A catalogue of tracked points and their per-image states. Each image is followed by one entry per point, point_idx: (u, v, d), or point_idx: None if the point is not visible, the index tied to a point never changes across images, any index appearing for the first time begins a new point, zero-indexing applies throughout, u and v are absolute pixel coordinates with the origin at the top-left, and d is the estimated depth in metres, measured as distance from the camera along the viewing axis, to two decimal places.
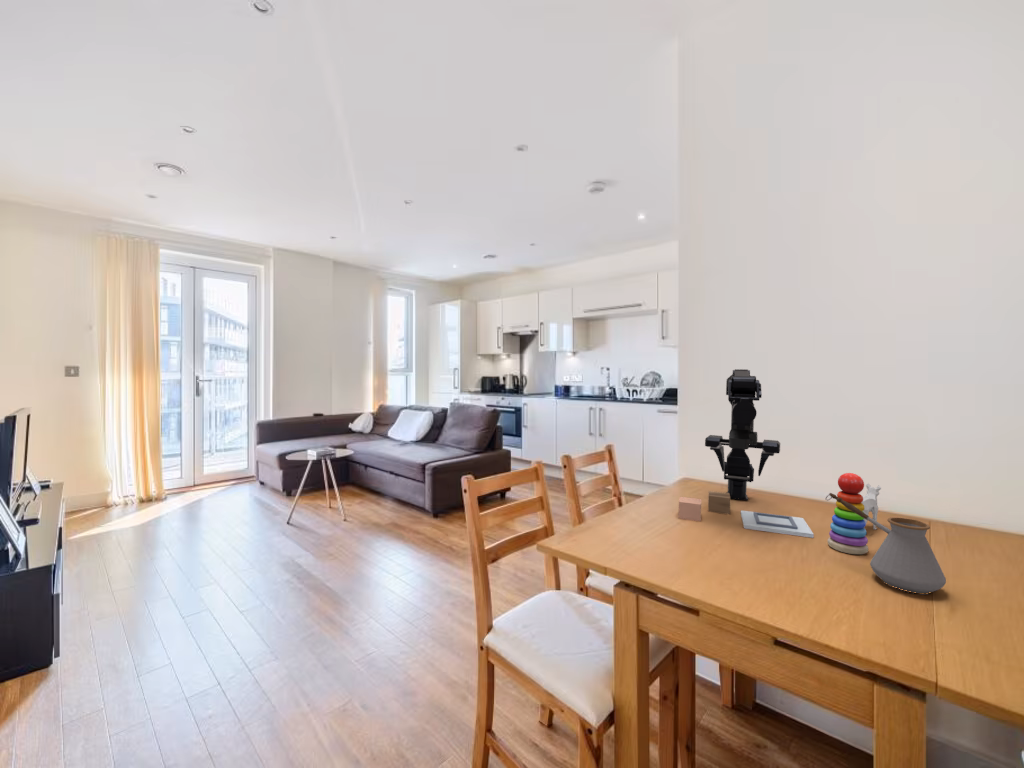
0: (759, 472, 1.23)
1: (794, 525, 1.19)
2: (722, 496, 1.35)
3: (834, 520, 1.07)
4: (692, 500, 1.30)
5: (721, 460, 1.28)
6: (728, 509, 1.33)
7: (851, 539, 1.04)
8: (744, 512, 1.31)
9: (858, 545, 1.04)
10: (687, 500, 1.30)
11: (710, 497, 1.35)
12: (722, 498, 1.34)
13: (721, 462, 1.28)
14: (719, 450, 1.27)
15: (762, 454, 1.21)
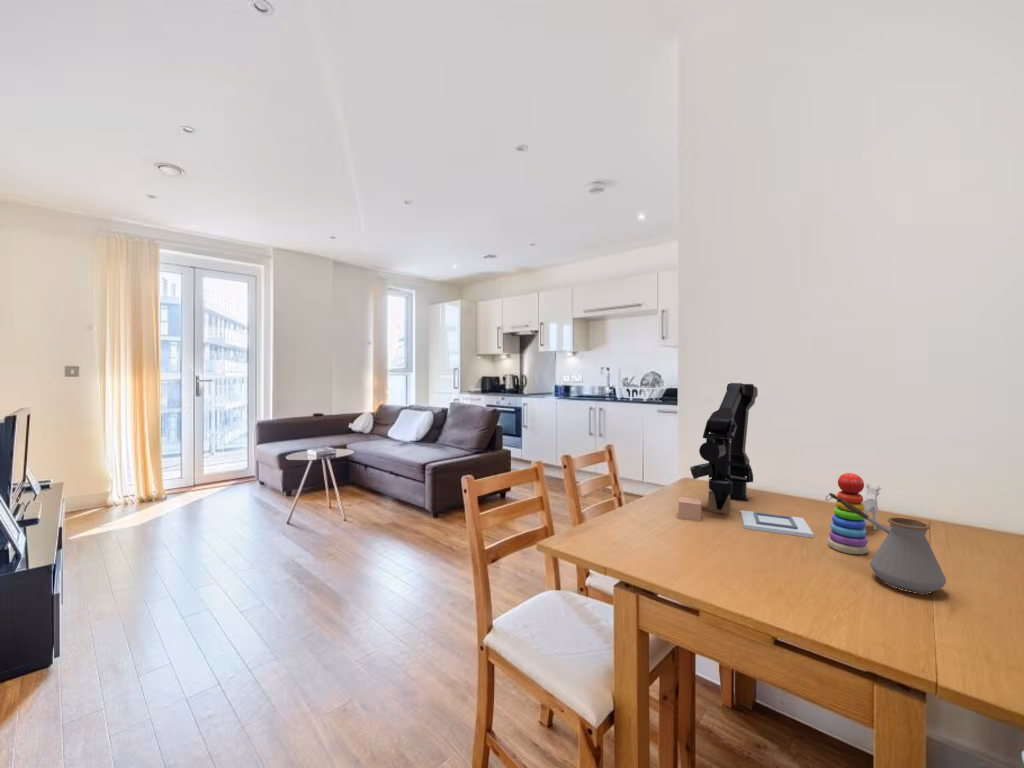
0: None
1: (794, 525, 1.19)
2: None
3: (834, 520, 1.07)
4: (692, 500, 1.30)
5: None
6: (728, 509, 1.33)
7: (851, 539, 1.04)
8: (744, 512, 1.31)
9: (858, 545, 1.04)
10: (687, 500, 1.30)
11: (710, 497, 1.35)
12: None
13: None
14: None
15: None
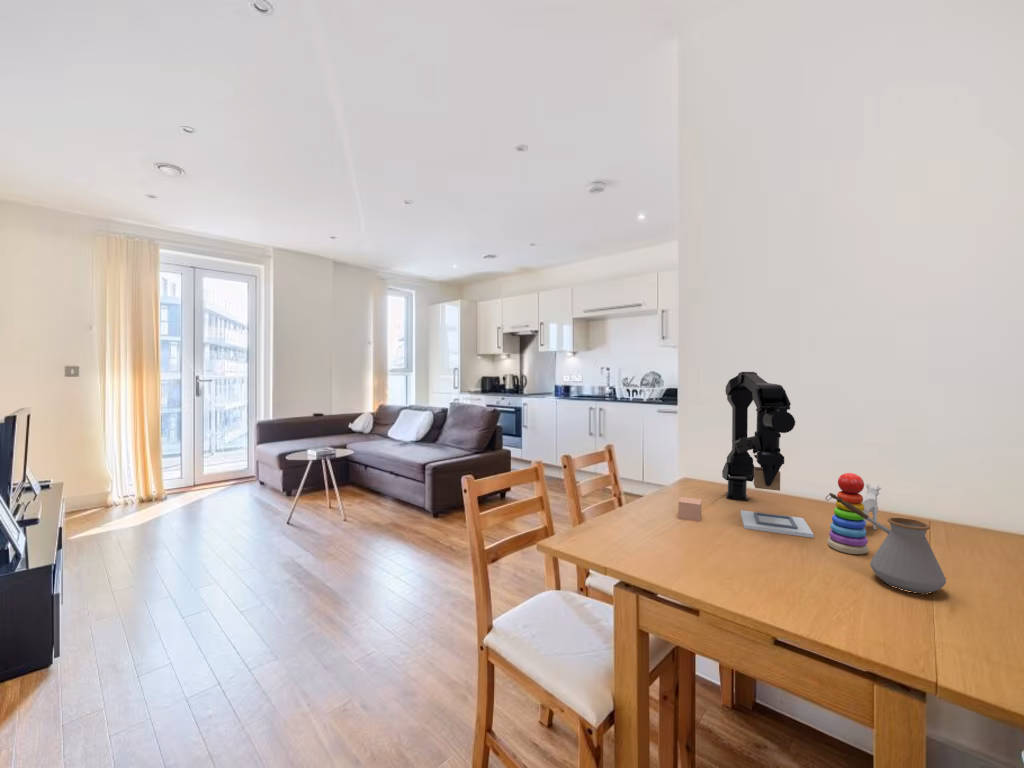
0: None
1: (794, 525, 1.19)
2: None
3: (834, 520, 1.07)
4: (692, 500, 1.30)
5: None
6: (778, 485, 1.21)
7: (851, 539, 1.04)
8: (744, 512, 1.31)
9: (858, 545, 1.04)
10: (687, 500, 1.30)
11: (757, 472, 1.23)
12: None
13: None
14: (755, 457, 1.30)
15: (757, 461, 1.23)
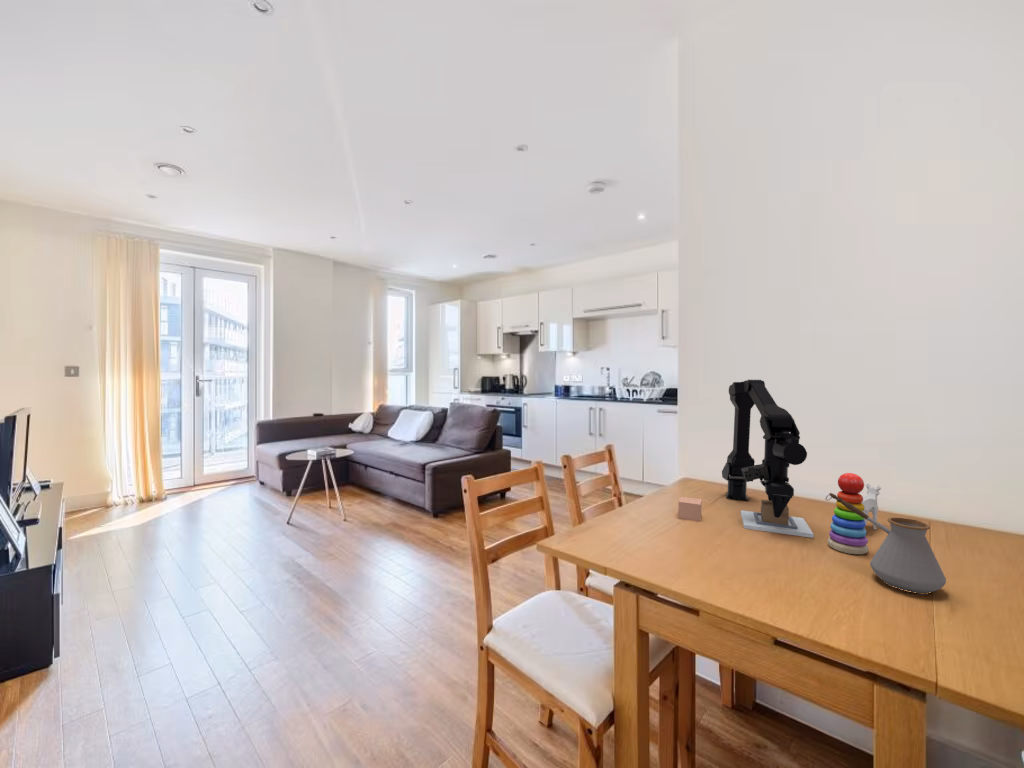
0: None
1: (794, 525, 1.19)
2: None
3: (834, 520, 1.07)
4: (692, 500, 1.30)
5: None
6: (786, 520, 1.20)
7: (851, 539, 1.04)
8: (744, 512, 1.31)
9: (858, 545, 1.04)
10: (687, 500, 1.30)
11: (765, 507, 1.22)
12: None
13: (768, 497, 1.29)
14: (762, 484, 1.30)
15: (766, 492, 1.20)
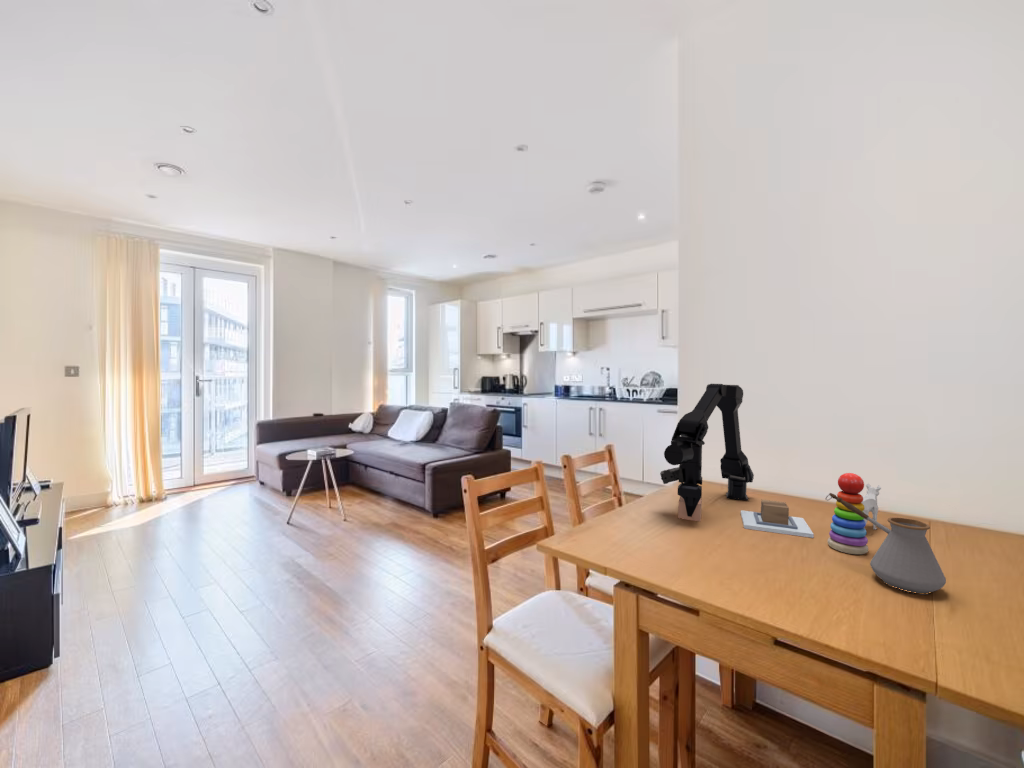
0: None
1: (794, 525, 1.19)
2: (779, 505, 1.22)
3: (834, 520, 1.07)
4: None
5: None
6: (786, 520, 1.20)
7: (851, 539, 1.04)
8: (744, 512, 1.31)
9: (858, 545, 1.04)
10: None
11: (765, 507, 1.22)
12: (779, 508, 1.21)
13: None
14: None
15: None
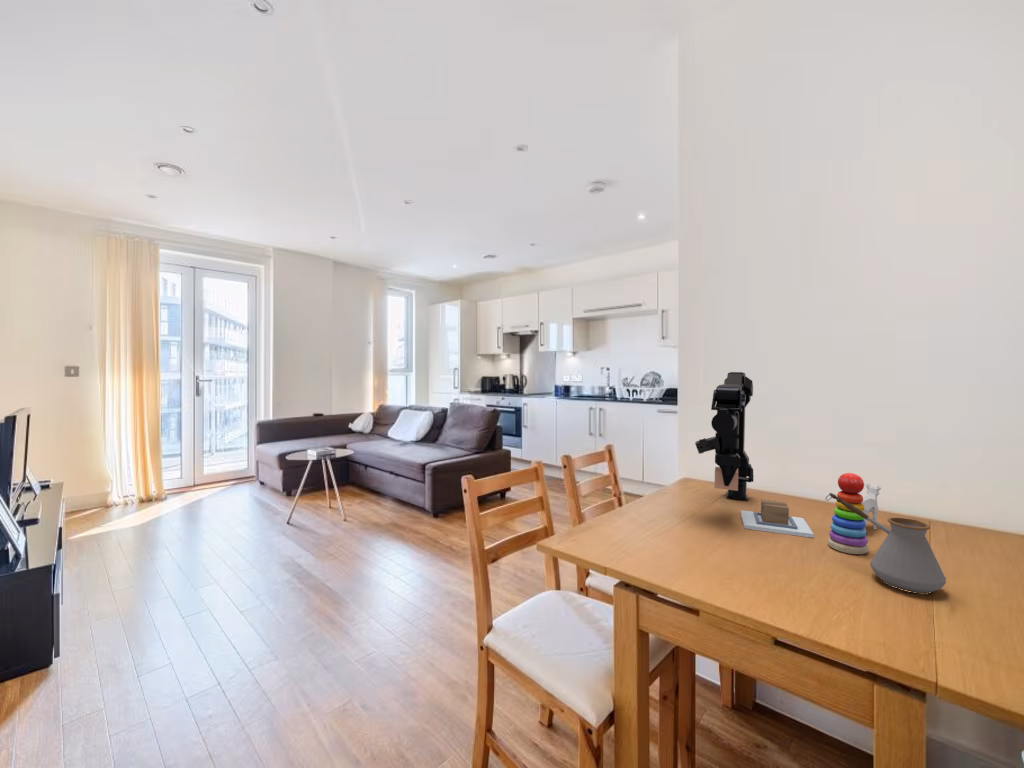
0: None
1: (794, 525, 1.19)
2: (779, 505, 1.22)
3: (834, 520, 1.07)
4: None
5: None
6: (786, 520, 1.20)
7: (851, 539, 1.04)
8: (744, 512, 1.31)
9: (858, 545, 1.04)
10: None
11: (765, 507, 1.22)
12: (779, 508, 1.21)
13: None
14: None
15: None
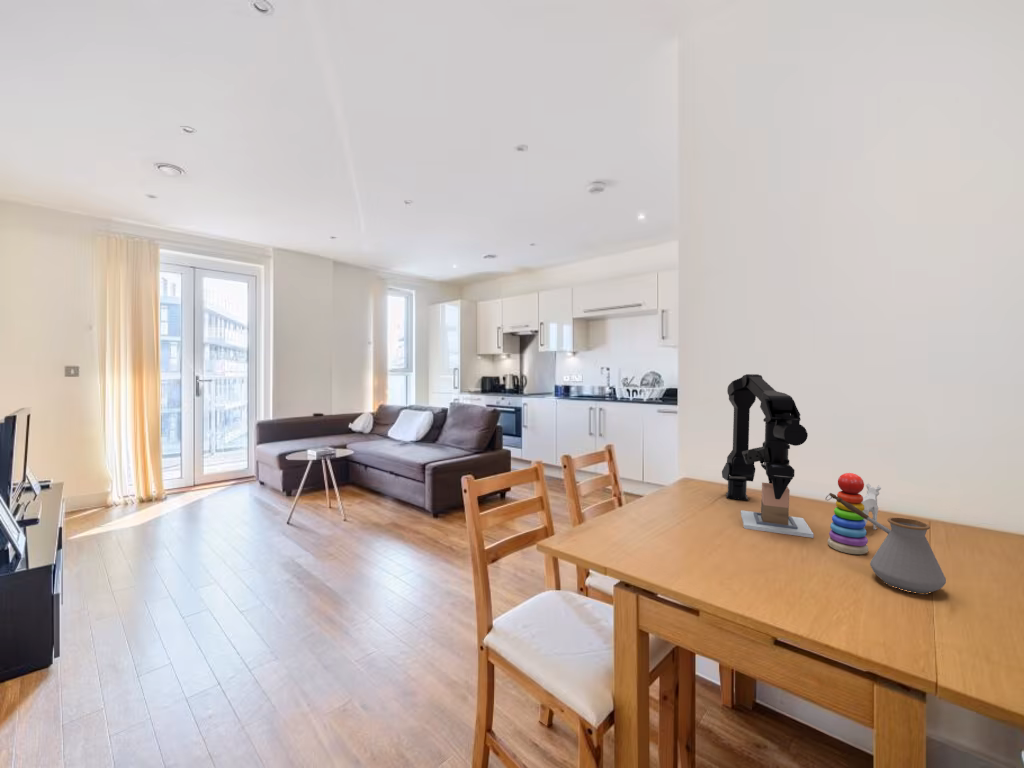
0: (774, 494, 1.20)
1: (794, 525, 1.19)
2: None
3: (834, 520, 1.07)
4: None
5: (768, 478, 1.29)
6: (786, 520, 1.20)
7: (851, 539, 1.04)
8: (744, 512, 1.31)
9: (858, 545, 1.04)
10: (772, 486, 1.24)
11: (765, 507, 1.22)
12: (779, 508, 1.21)
13: None
14: None
15: (766, 474, 1.20)
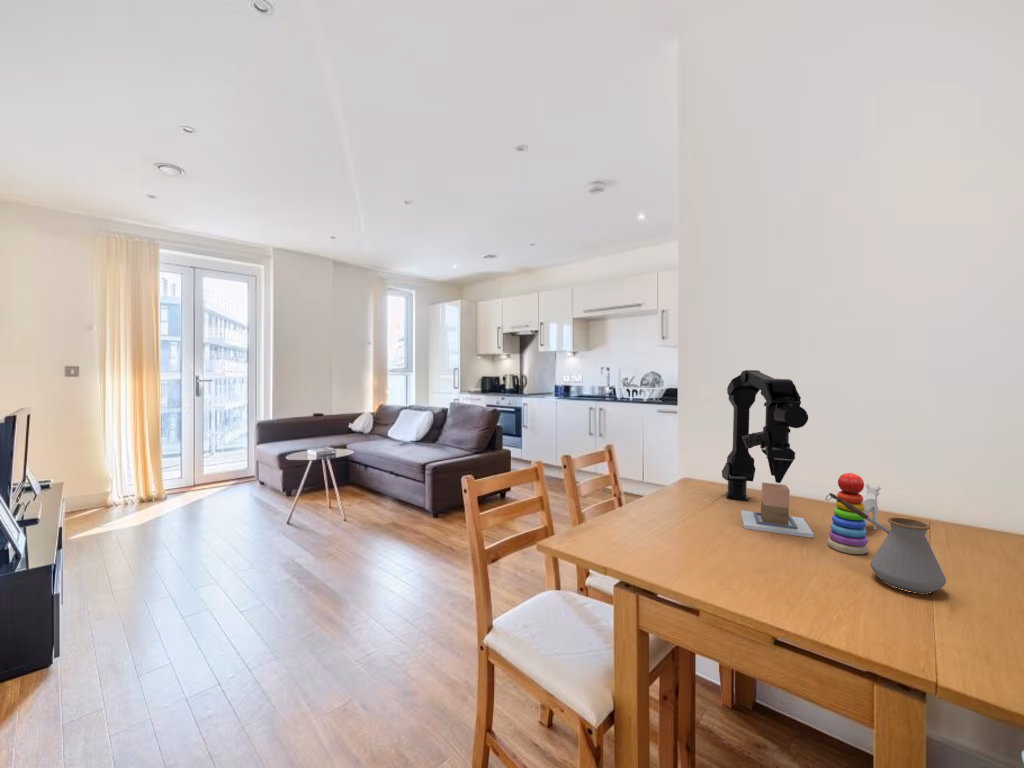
0: None
1: (794, 525, 1.19)
2: None
3: (834, 520, 1.07)
4: (777, 486, 1.24)
5: None
6: (786, 520, 1.20)
7: (851, 539, 1.04)
8: (744, 512, 1.31)
9: (858, 545, 1.04)
10: (772, 486, 1.24)
11: (765, 507, 1.22)
12: (779, 508, 1.21)
13: (769, 465, 1.28)
14: (763, 452, 1.29)
15: (767, 458, 1.19)
